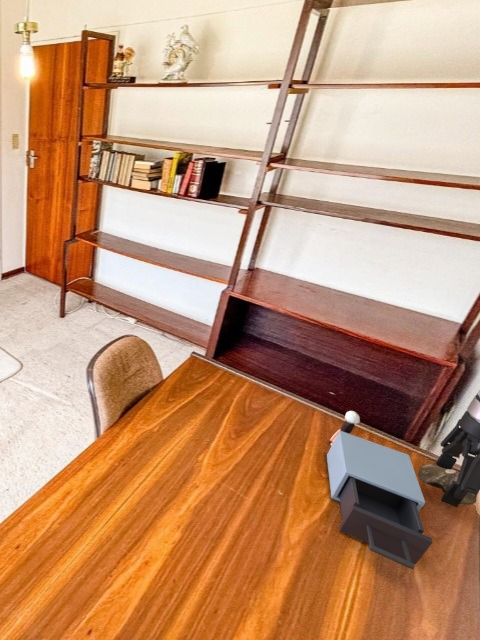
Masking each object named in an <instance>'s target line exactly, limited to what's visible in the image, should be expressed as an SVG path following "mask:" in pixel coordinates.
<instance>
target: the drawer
mask: <svg viewBox="0 0 480 640" xmlns="http://www.w3.org/2000/svg"><path fill="white" fill-rule="evenodd" d="M339 497H340V502H339V504H340V512H341V520H342V521H341V523H340V525H339V532H342V533H343V534H346V535H348V536H350V537H352V538H354V539H357V540H359V541H361V542H363V543H366V544H368V550H369V551H370V552H373V553H376V554H378V555H379V556H382V557H384V558H387V559H388V560H391V561H393V562H395V563H398V564H400V565H402V566H404V567H406V568H408V569H411V570H414V569H415V566H416V565H417V563H418V562H419V561H420V559H422V558H423V556H424V554H425V553H426V552H427V550H429V548H430V547H431V546H432V544H433V543H434V542H433V541H434V540H433V539H432V537H431V536H428V535H426V534H424V533H425V528H424V525H423V522H422V519H421V515H420V511H419V512H418V509H417V506H416V503H415V501H412V500H410V499H407V498H405V497H402V496H400V495H397V494H395V493H392V492H389V491H387V490H384V489H382V488H379V487H377V486H374V485H372V484H369V483H366V482H364V481H361V480H359V479H356V478H354V477H351V476H348V478H347V480H346V482H345V483H344V485H343V487H342V489H341V490H340V492H339Z"/></svg>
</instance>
